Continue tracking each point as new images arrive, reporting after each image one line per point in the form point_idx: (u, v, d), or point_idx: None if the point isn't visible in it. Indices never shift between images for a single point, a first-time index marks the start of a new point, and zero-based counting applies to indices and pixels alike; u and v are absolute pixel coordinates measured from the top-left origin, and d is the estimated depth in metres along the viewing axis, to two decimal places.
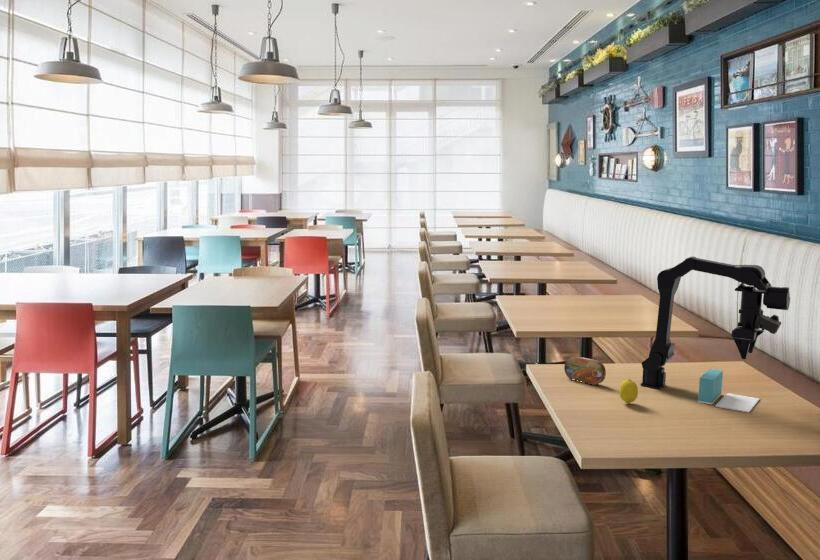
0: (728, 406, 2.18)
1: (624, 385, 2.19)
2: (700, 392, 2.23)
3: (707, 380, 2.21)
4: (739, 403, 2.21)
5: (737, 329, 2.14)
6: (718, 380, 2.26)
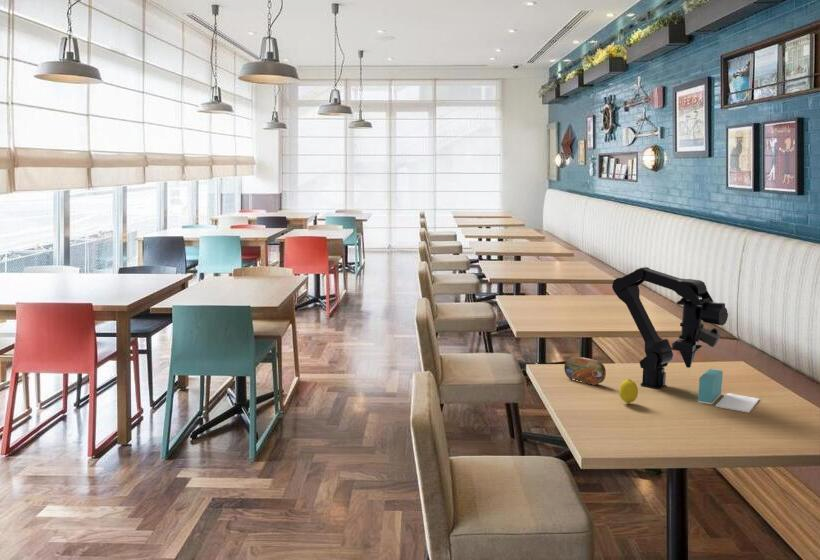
0: (728, 406, 2.18)
1: (624, 385, 2.19)
2: (700, 392, 2.23)
3: (707, 380, 2.21)
4: (739, 403, 2.21)
5: (677, 342, 2.22)
6: (718, 380, 2.26)
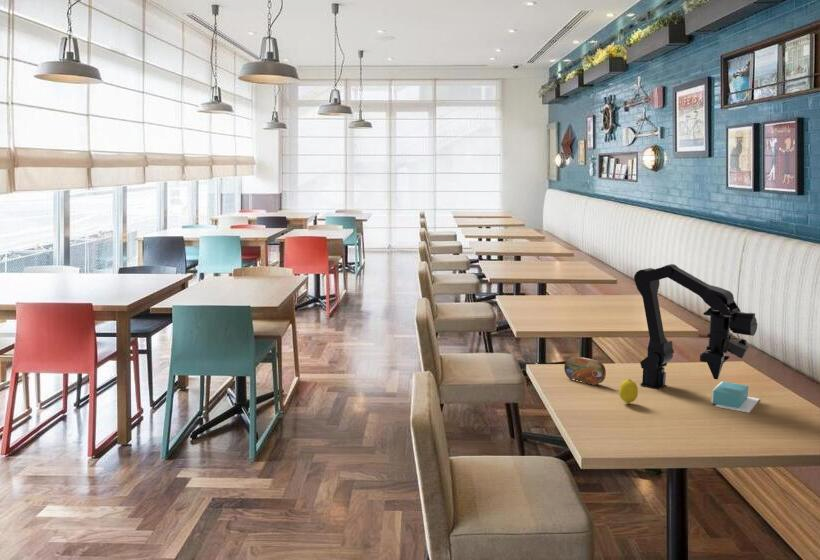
0: (728, 406, 2.18)
1: (624, 385, 2.19)
2: (723, 394, 2.19)
3: (737, 402, 2.17)
4: None
5: (705, 353, 2.18)
6: None
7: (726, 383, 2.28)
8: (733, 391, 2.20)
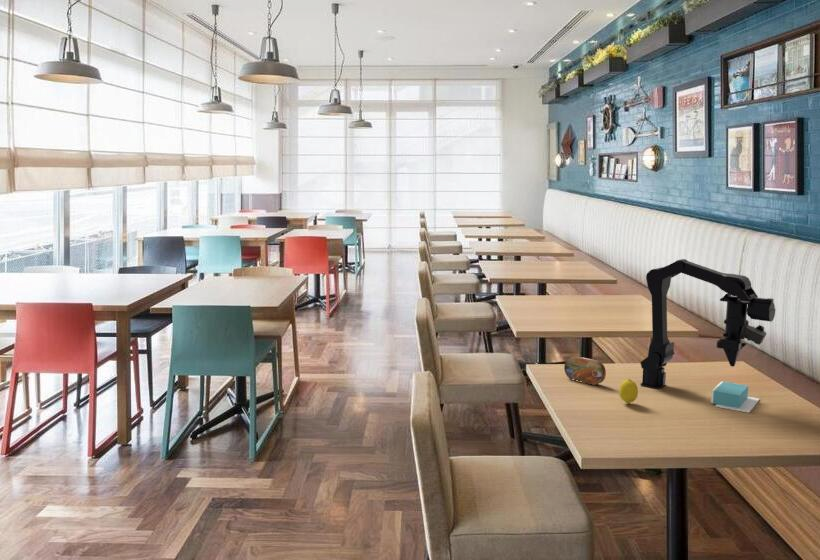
0: (728, 406, 2.18)
1: (624, 385, 2.19)
2: (723, 394, 2.19)
3: (737, 402, 2.17)
4: None
5: (722, 340, 2.14)
6: None
7: (726, 383, 2.28)
8: (733, 391, 2.20)
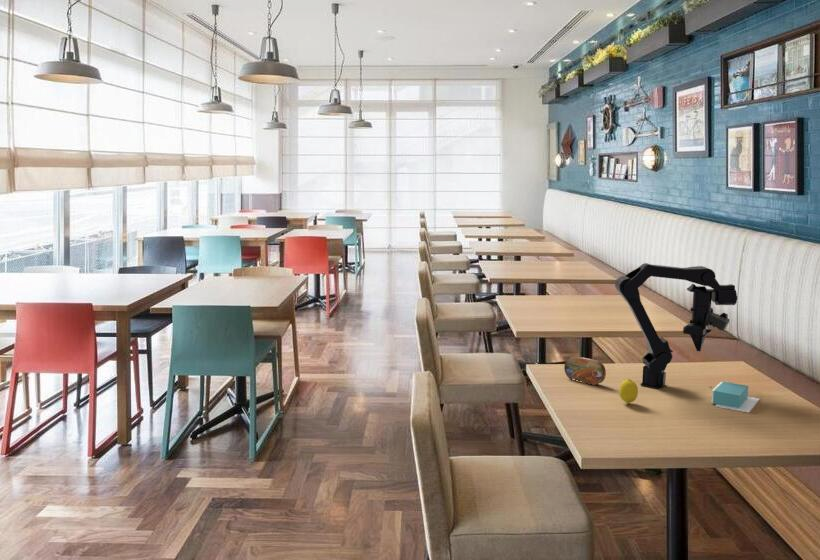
0: (728, 406, 2.18)
1: (624, 385, 2.19)
2: (723, 394, 2.19)
3: (737, 402, 2.17)
4: None
5: (688, 326, 2.31)
6: None
7: (726, 383, 2.28)
8: (733, 391, 2.20)
